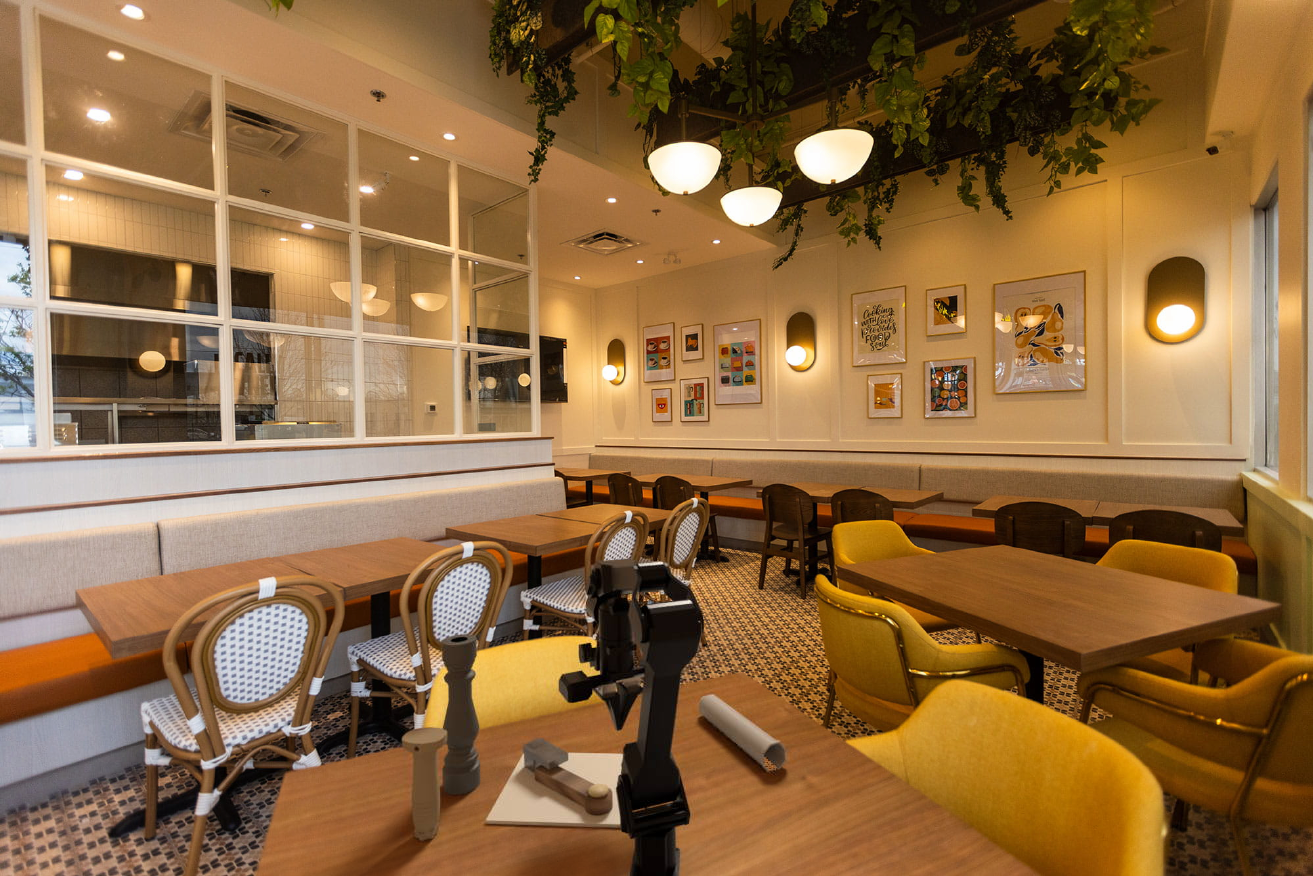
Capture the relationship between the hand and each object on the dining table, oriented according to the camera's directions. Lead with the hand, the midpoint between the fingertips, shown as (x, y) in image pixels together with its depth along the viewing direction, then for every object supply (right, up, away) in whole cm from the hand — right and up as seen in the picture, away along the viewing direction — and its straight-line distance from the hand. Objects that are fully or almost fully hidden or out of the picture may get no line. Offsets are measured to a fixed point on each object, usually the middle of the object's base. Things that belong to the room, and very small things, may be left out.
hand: (618, 729), depth 98 cm
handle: (-28, -12, -9) cm, 32 cm away
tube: (+22, -11, +17) cm, 30 cm away
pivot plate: (-8, -11, +2) cm, 14 cm away
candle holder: (-27, -12, +4) cm, 30 cm away
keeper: (-13, -11, +6) cm, 18 cm away
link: (-7, -10, 0) cm, 13 cm away
